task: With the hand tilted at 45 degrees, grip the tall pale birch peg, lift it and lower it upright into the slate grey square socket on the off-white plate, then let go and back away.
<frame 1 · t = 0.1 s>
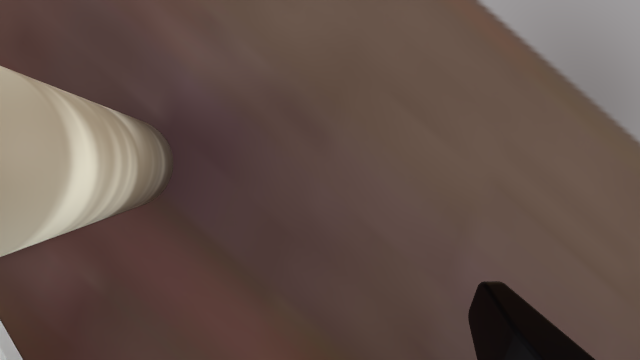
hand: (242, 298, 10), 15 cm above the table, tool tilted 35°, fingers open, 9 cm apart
peg: (127, 163, 23), on the table
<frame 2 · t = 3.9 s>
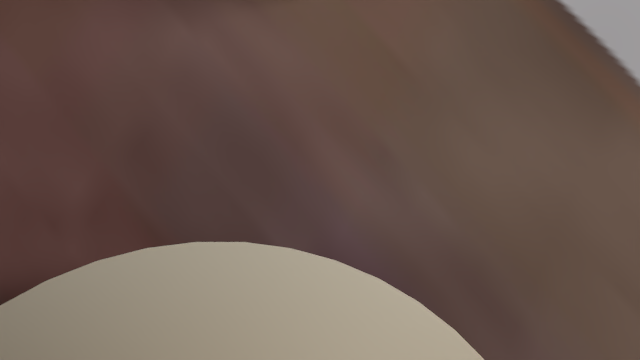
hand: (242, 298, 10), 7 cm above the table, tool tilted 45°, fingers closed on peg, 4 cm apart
peg: (245, 334, 16), on the table, touching gripper
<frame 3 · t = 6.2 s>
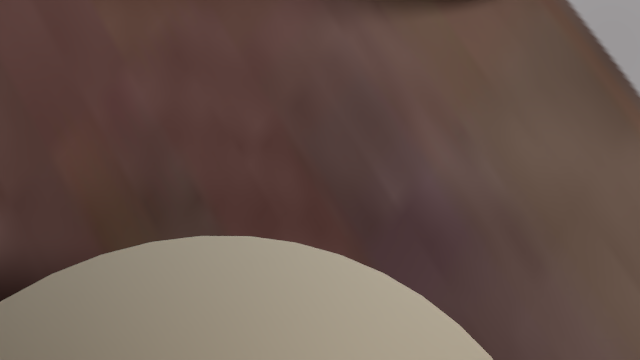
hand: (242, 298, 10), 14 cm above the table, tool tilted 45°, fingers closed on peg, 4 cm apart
peg: (245, 333, 16), point 7 cm above the table, touching gripper
when the fingers open (9 cm above the table, at t = 8.7 s): peg stays where it is, resting on socket block.
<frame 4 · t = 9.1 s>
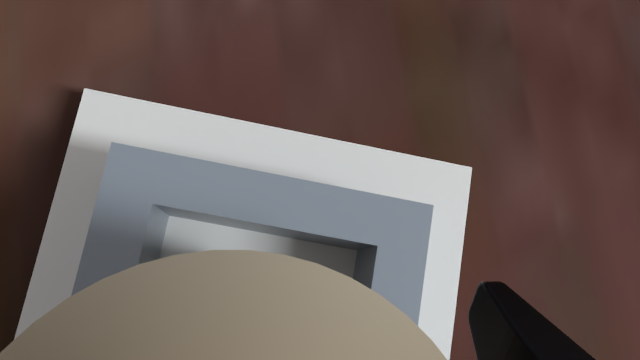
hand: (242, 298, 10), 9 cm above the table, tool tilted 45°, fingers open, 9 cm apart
peg: (245, 332, 17), point 1 cm above the table, touching socket block
socket block: (246, 327, 18), on the table
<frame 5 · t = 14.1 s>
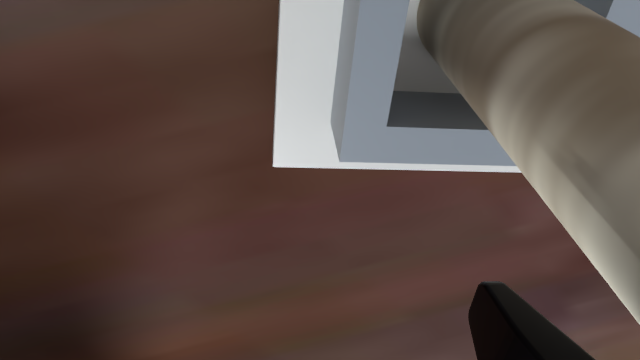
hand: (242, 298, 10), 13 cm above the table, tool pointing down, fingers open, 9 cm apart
peg: (470, 12, 19), point 1 cm above the table, touching socket block
socket block: (462, 4, 20), on the table
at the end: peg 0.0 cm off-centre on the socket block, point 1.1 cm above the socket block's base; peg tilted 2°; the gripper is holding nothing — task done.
